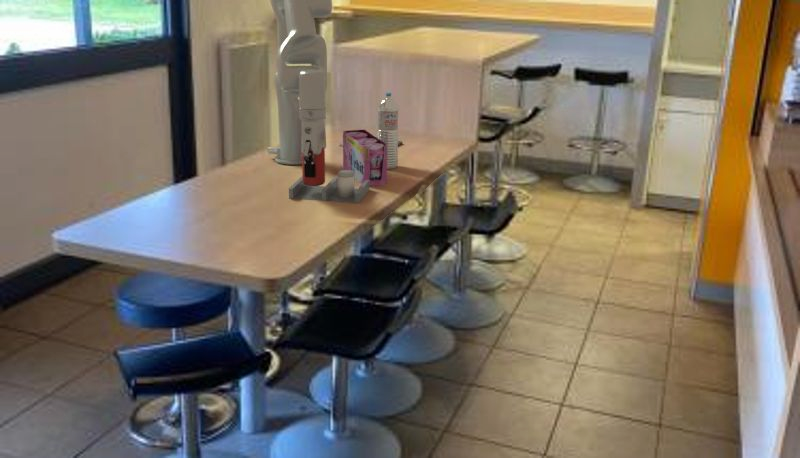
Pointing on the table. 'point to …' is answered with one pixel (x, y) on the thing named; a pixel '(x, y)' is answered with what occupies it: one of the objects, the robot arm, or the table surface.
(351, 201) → the organizer
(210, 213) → the table surface
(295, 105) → the robot arm
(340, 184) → the shaker
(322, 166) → the beer can
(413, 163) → the table surface
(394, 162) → the water bottle
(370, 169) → the gum box
